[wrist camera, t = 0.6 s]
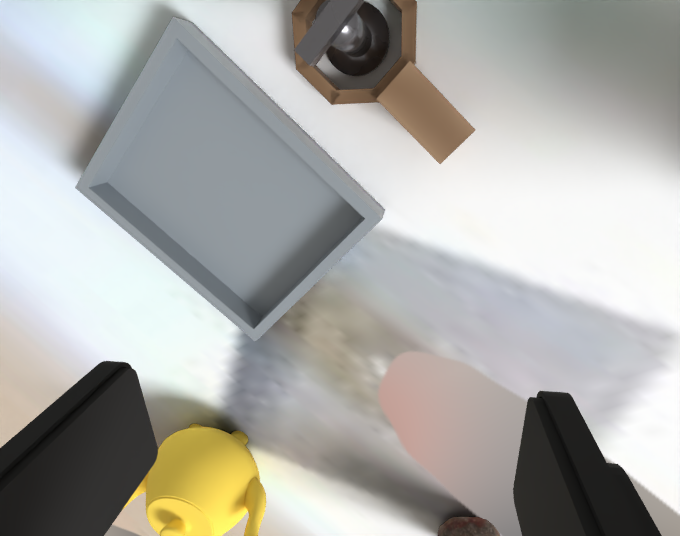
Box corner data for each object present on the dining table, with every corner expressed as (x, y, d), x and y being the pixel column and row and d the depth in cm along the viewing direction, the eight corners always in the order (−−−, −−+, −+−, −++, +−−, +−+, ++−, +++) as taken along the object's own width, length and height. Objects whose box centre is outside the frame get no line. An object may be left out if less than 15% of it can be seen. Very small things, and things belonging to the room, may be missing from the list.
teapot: (157, 483, 57) (99, 569, 47) (140, 398, 51) (70, 476, 41) (296, 510, 54) (266, 608, 44) (295, 424, 48) (261, 514, 38)
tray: (192, 22, 33) (172, 16, 31) (384, 209, 37) (382, 218, 34) (98, 181, 41) (75, 187, 38) (265, 326, 44) (255, 341, 41)
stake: (355, -14, 30) (327, -61, 21) (403, 37, 31) (396, 12, 22) (312, 44, 33) (268, 25, 23) (357, 90, 33) (333, 89, 24)
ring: (354, -62, 29) (336, -104, 23) (495, 92, 32) (514, 92, 25) (278, 46, 33) (244, 34, 27) (409, 177, 35) (407, 195, 29)
